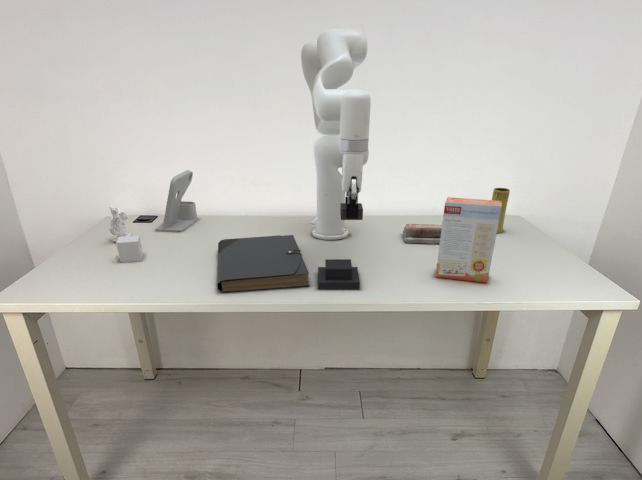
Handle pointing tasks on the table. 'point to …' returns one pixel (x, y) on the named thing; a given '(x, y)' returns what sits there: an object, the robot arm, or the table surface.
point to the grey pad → (343, 212)
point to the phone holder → (179, 205)
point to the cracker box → (468, 238)
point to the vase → (503, 196)
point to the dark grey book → (260, 264)
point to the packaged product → (422, 233)
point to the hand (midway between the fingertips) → (351, 213)
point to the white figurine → (118, 222)
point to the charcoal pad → (338, 269)
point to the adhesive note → (129, 248)
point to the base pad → (338, 281)
